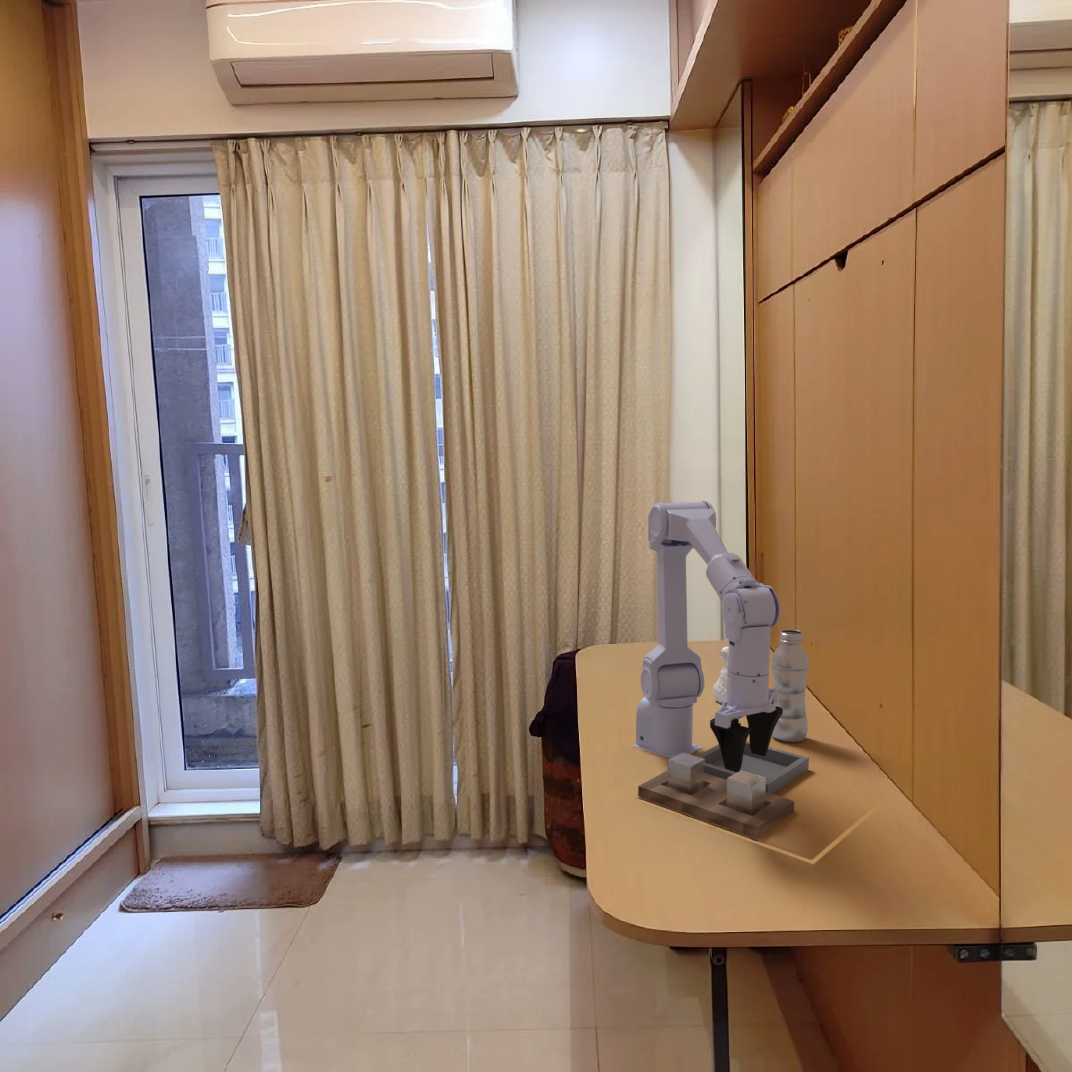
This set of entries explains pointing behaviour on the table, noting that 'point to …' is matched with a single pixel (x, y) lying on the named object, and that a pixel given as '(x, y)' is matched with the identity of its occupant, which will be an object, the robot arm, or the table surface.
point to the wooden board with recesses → (716, 805)
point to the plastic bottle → (790, 686)
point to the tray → (760, 766)
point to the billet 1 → (686, 773)
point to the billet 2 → (746, 792)
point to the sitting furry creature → (722, 678)
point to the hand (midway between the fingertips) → (745, 762)
